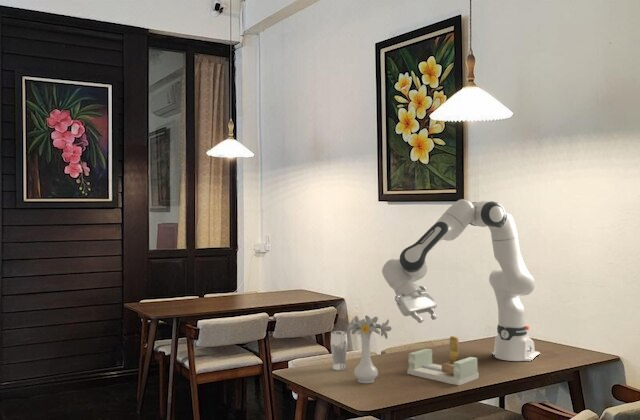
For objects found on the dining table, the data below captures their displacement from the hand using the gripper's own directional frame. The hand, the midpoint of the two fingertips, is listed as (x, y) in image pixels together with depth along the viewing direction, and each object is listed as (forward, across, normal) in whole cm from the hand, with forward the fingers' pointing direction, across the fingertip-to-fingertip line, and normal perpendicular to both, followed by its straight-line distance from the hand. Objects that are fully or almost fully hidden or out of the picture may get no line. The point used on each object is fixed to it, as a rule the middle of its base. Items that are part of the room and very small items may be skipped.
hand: (428, 320), depth 260 cm
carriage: (+21, 0, +4) cm, 22 cm away
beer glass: (-6, -20, +37) cm, 42 cm away
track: (+20, 0, +10) cm, 22 cm away
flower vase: (+8, -26, +22) cm, 35 cm away
